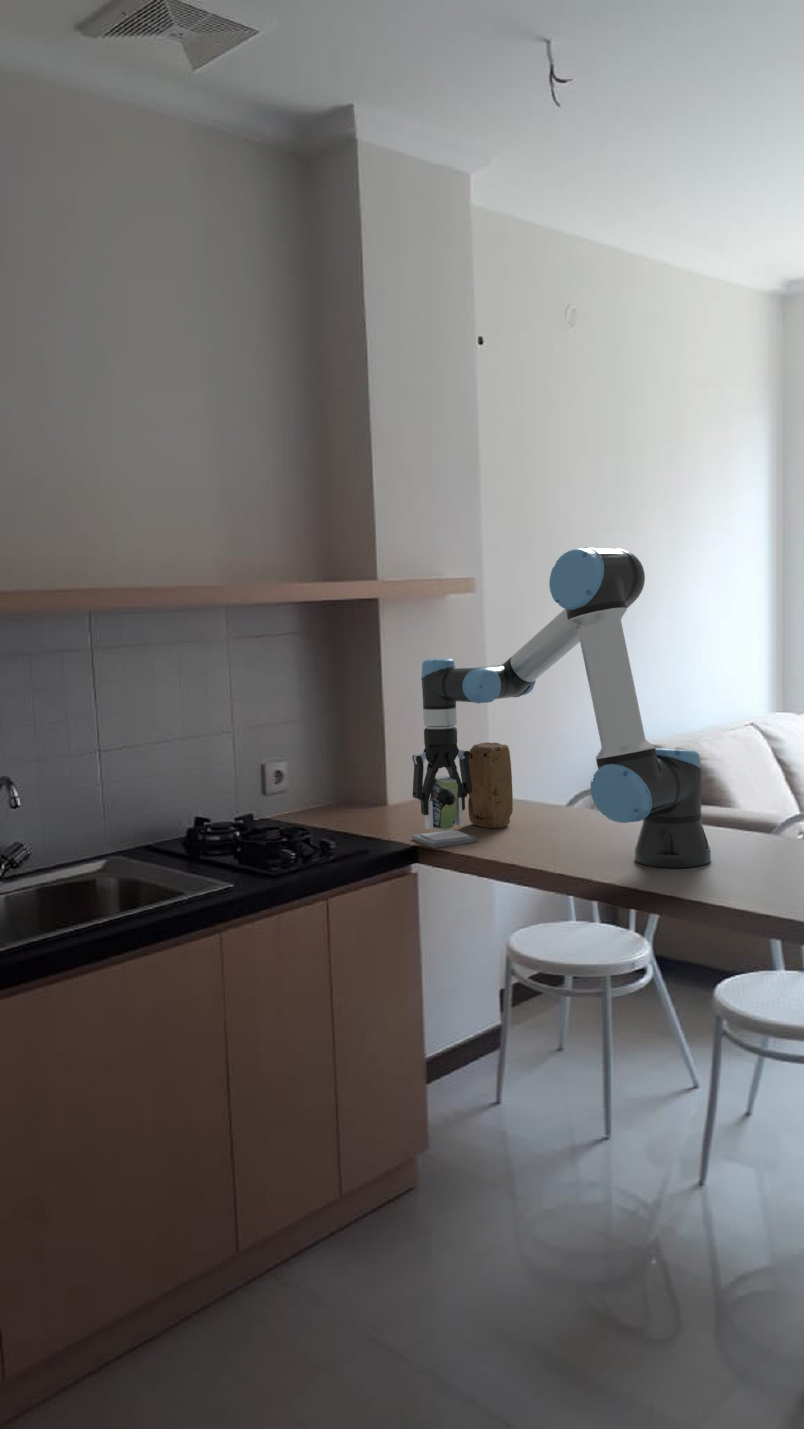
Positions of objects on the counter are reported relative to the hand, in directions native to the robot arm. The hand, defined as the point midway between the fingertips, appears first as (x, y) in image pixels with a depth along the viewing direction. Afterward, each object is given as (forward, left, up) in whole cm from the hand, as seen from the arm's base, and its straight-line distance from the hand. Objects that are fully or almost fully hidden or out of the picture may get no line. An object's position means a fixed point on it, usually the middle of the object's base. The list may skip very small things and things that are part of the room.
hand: (443, 826), depth 259 cm
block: (+9, -17, -4) cm, 20 cm away
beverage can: (0, 0, -1) cm, 1 cm away
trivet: (0, 0, -3) cm, 3 cm away
